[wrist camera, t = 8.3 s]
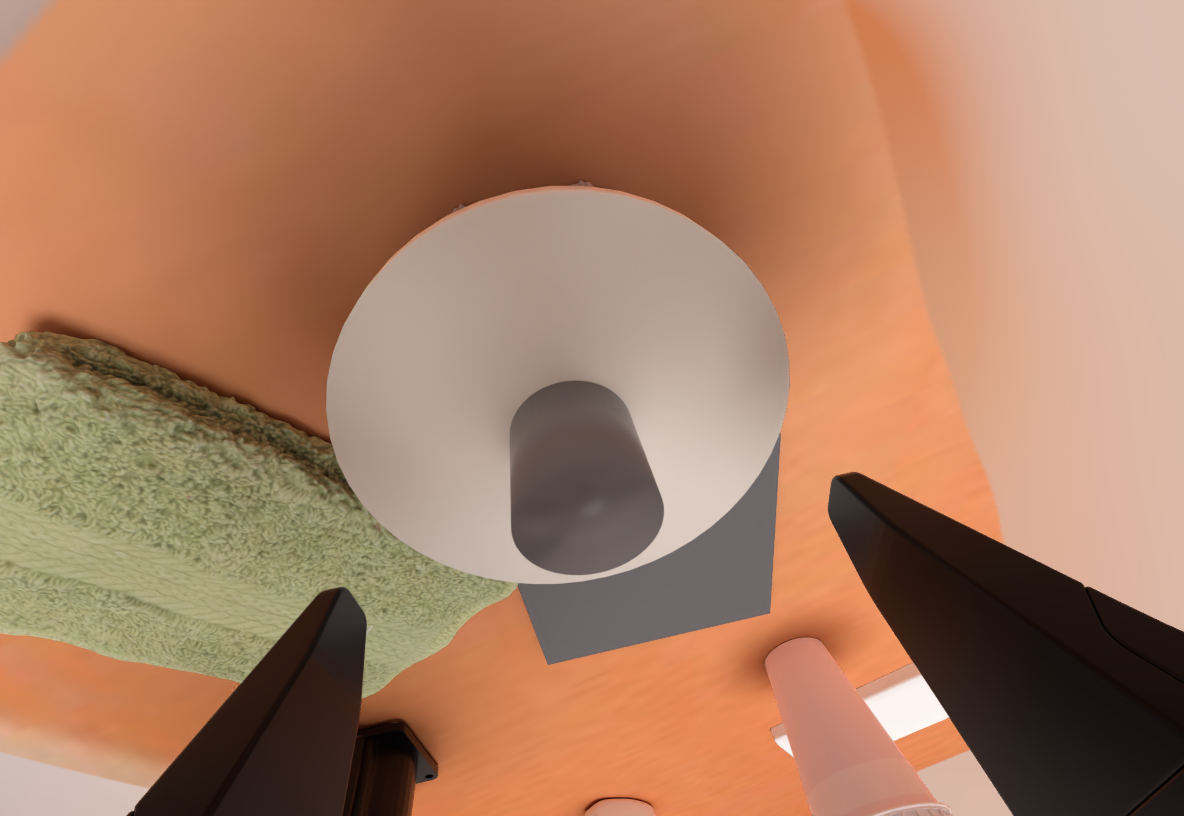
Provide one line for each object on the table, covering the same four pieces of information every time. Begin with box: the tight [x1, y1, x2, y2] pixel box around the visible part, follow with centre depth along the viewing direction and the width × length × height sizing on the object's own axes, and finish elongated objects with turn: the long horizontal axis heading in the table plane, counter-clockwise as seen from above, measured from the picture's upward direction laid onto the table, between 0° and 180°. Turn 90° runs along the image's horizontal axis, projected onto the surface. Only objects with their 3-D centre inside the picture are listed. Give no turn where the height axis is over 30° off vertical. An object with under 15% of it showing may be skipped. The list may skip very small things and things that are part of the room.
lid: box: [326, 186, 790, 584], centre depth 11 cm, size 11×11×4 cm
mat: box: [518, 434, 781, 665], centre depth 24 cm, size 12×12×1 cm
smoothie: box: [765, 637, 953, 816], centre depth 25 cm, size 6×6×14 cm
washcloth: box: [0, 331, 519, 699], centre depth 19 cm, size 13×18×3 cm
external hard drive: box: [770, 663, 949, 757], centre depth 36 cm, size 2×8×12 cm
